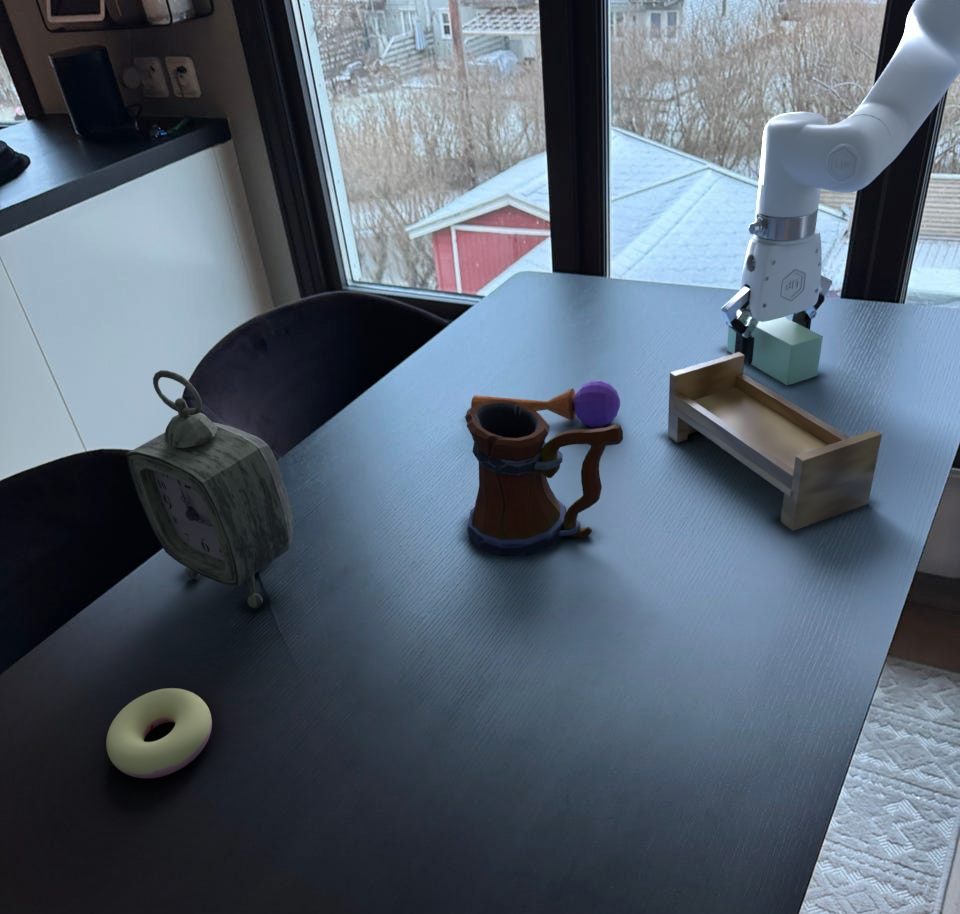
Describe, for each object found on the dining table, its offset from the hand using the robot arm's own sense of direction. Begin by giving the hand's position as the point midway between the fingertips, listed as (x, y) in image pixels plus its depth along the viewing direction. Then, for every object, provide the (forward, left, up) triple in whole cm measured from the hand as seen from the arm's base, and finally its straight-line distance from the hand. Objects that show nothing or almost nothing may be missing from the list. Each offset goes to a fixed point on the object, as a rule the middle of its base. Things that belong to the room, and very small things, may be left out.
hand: (771, 352), depth 129 cm
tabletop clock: (+79, +11, -2) cm, 80 cm away
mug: (+46, +21, -2) cm, 51 cm away
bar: (0, 0, -2) cm, 2 cm away
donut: (+91, +33, -2) cm, 97 cm away
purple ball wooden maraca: (+34, -3, -2) cm, 34 cm away
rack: (+18, +23, -2) cm, 29 cm away
